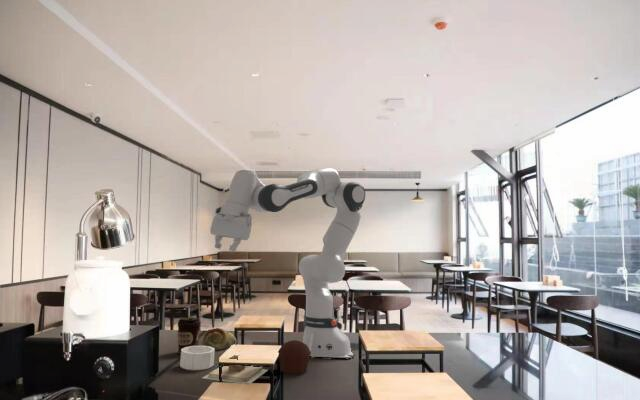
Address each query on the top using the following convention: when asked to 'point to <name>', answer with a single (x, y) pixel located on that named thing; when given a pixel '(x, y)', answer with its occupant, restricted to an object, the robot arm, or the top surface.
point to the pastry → (218, 339)
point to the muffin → (294, 357)
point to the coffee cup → (188, 332)
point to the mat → (238, 381)
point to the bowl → (197, 357)
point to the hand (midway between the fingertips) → (224, 249)
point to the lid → (236, 372)
